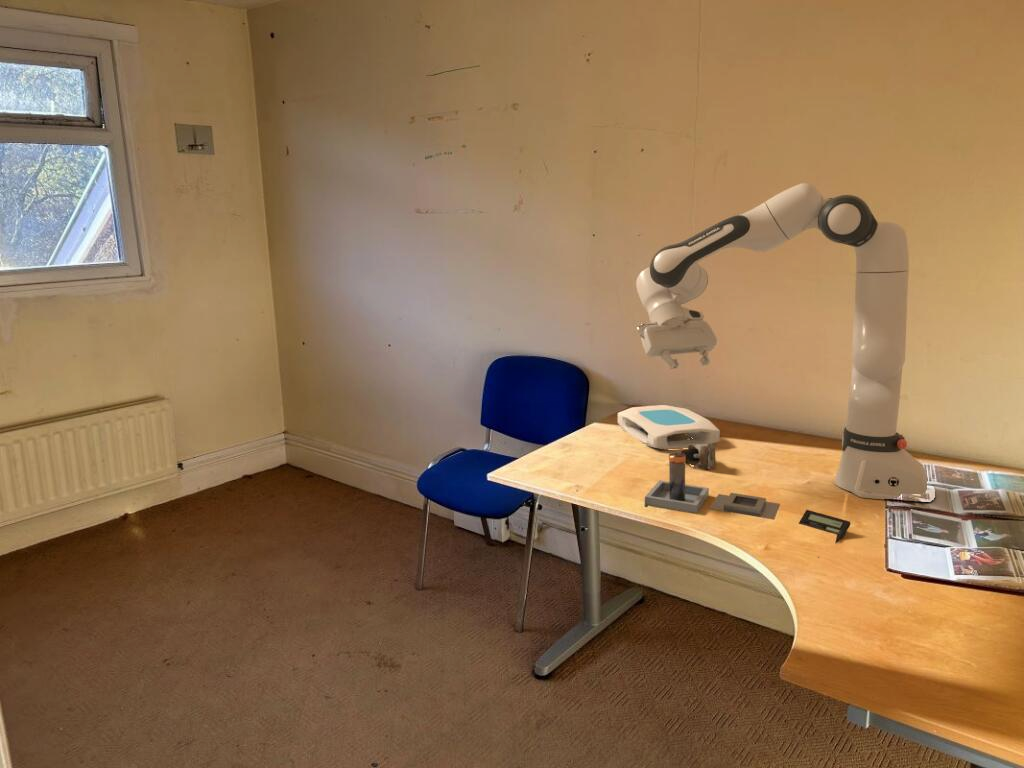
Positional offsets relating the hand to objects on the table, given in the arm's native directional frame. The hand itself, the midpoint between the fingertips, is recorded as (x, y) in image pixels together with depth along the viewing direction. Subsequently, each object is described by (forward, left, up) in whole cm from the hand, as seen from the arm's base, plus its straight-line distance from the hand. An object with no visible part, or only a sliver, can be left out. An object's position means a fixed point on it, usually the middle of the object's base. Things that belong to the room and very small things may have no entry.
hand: (690, 365), depth 185 cm
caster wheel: (0, -11, -30) cm, 31 cm away
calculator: (-34, +23, -30) cm, 51 cm away
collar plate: (-18, +15, -29) cm, 37 cm away
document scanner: (+15, -33, -30) cm, 47 cm away
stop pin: (-3, +18, -29) cm, 34 cm away
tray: (-3, +18, -29) cm, 35 cm away
